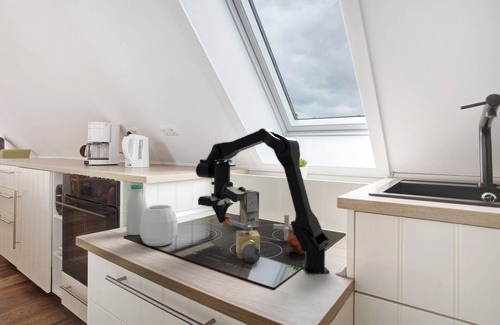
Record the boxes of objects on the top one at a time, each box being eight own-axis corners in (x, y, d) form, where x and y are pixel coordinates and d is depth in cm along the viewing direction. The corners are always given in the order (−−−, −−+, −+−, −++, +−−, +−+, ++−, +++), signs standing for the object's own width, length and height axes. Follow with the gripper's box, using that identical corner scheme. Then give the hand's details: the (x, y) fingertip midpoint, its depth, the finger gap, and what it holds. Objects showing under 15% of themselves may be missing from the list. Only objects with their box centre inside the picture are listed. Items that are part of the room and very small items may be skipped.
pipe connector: (298, 245, 108) (299, 218, 108) (271, 242, 110) (272, 216, 110) (299, 237, 118) (300, 212, 118) (275, 235, 120) (275, 211, 120)
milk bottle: (146, 234, 118) (147, 185, 118) (126, 236, 115) (126, 185, 115) (146, 229, 125) (146, 183, 125) (126, 231, 123) (126, 183, 122)
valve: (263, 263, 90) (263, 236, 89) (240, 264, 89) (240, 237, 88) (253, 245, 106) (253, 223, 106) (234, 246, 105) (234, 223, 105)
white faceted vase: (139, 239, 111) (140, 204, 111) (175, 237, 116) (175, 203, 115) (139, 251, 99) (140, 211, 98) (179, 247, 103) (180, 209, 103)
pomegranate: (297, 265, 95) (318, 243, 98) (284, 248, 93) (305, 227, 97) (287, 259, 102) (306, 239, 105) (274, 243, 100) (294, 224, 104)
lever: (254, 232, 97) (254, 223, 97) (247, 234, 95) (247, 224, 95) (227, 223, 109) (227, 215, 108) (220, 225, 106) (220, 216, 106)
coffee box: (259, 227, 133) (260, 192, 133) (246, 228, 130) (247, 192, 130) (250, 222, 142) (251, 189, 141) (238, 223, 139) (239, 190, 138)
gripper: (223, 182, 92) (222, 231, 92) (255, 179, 107) (254, 221, 108) (197, 180, 98) (196, 226, 98) (231, 177, 114) (230, 217, 114)
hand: (221, 222), depth 104 cm, fingers closed
